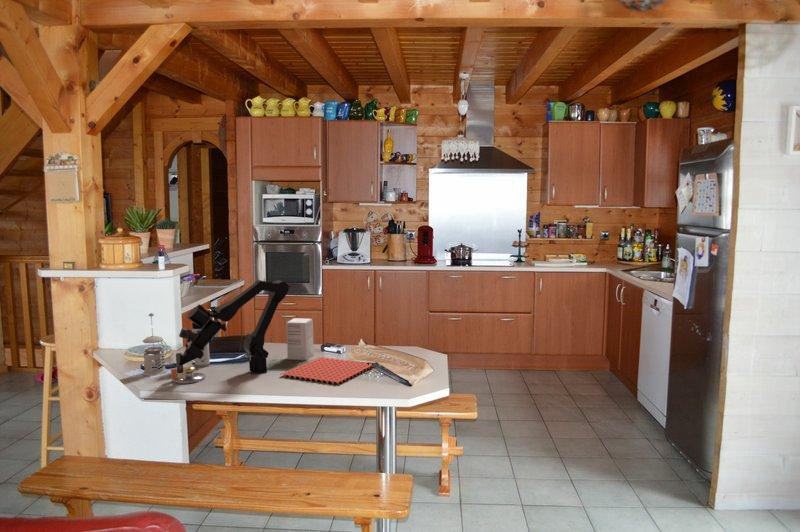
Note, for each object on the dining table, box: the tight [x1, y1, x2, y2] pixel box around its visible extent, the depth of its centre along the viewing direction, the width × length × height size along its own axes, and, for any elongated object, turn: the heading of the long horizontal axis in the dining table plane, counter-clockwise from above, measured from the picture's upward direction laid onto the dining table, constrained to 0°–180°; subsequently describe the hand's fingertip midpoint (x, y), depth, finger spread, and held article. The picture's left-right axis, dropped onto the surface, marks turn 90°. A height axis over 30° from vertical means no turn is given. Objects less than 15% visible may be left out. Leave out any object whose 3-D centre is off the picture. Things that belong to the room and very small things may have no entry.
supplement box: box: [285, 317, 315, 361], centre depth 271 cm, size 10×9×17 cm
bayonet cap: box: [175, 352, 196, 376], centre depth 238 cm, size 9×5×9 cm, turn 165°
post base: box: [170, 367, 206, 385], centre depth 241 cm, size 12×12×5 cm
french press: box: [142, 312, 168, 377], centre depth 252 cm, size 10×12×25 cm
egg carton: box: [280, 356, 372, 387], centre depth 247 cm, size 28×28×2 cm
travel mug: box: [191, 322, 211, 368], centre depth 260 cm, size 6×7×20 cm
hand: (179, 364), depth 235 cm, fingers closed on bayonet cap, 2 cm apart
